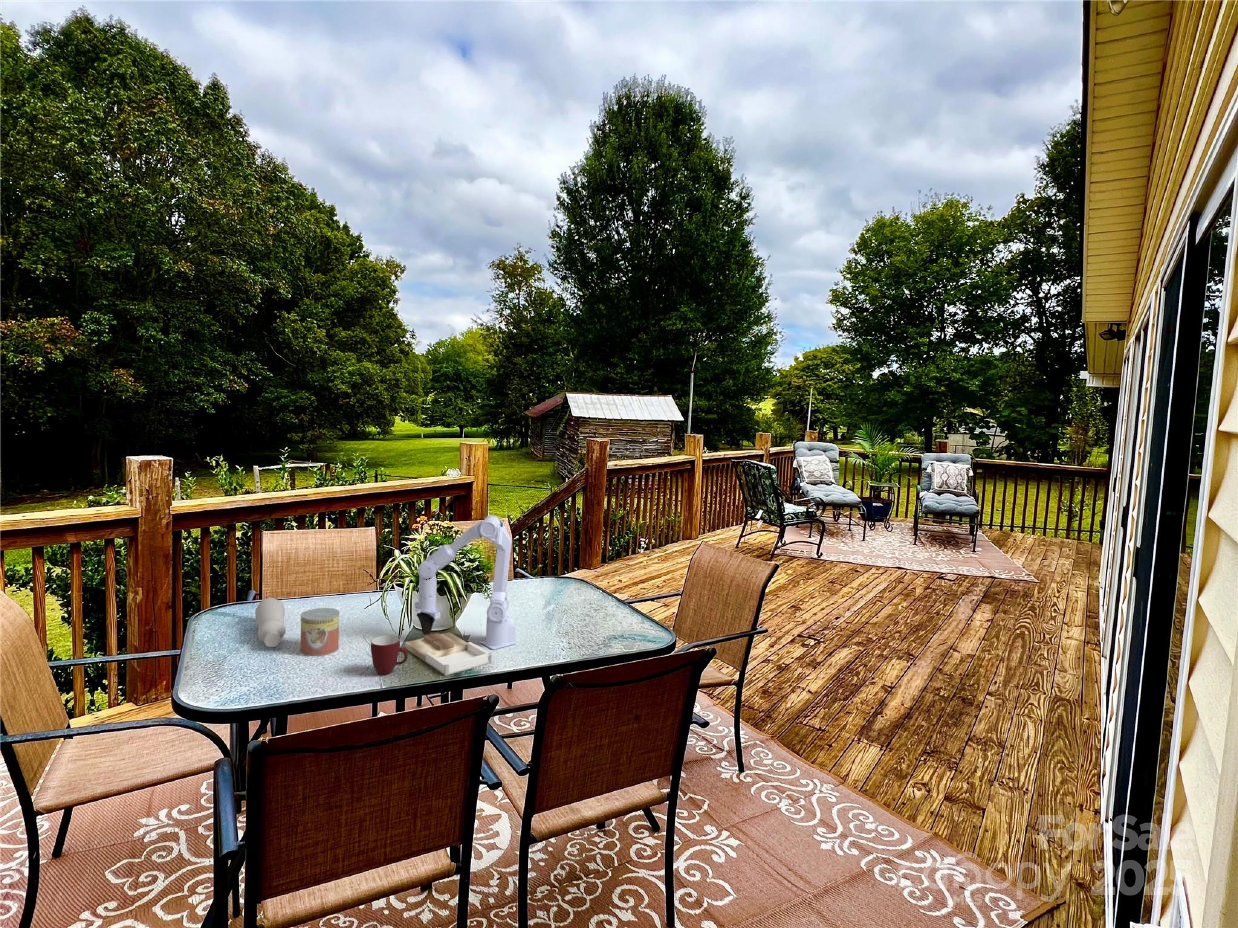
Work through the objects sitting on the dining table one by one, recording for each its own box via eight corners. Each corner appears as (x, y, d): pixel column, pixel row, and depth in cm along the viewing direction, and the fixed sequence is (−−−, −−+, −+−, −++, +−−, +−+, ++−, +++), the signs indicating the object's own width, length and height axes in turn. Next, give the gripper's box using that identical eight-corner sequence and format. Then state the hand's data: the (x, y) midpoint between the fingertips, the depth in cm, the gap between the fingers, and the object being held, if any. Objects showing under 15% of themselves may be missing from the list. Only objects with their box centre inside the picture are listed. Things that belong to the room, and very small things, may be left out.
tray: (470, 650, 209) (470, 641, 209) (491, 662, 200) (491, 653, 200) (425, 662, 198) (425, 652, 198) (445, 675, 189) (445, 666, 189)
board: (448, 637, 219) (449, 632, 219) (470, 650, 209) (470, 644, 209) (405, 648, 208) (405, 642, 208) (425, 661, 198) (425, 655, 198)
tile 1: (437, 637, 214) (437, 632, 214) (444, 641, 210) (444, 637, 210) (423, 640, 210) (423, 636, 210) (430, 645, 207) (431, 640, 207)
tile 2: (446, 642, 210) (446, 638, 209) (453, 647, 206) (454, 642, 206) (432, 645, 206) (432, 641, 206) (439, 650, 202) (440, 646, 202)
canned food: (296, 657, 196) (296, 620, 195) (304, 643, 207) (304, 608, 206) (335, 655, 199) (336, 618, 198) (341, 642, 210) (342, 607, 209)
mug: (408, 665, 195) (409, 634, 194) (406, 676, 187) (407, 644, 186) (371, 667, 192) (372, 635, 191) (368, 679, 184) (369, 645, 183)
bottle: (249, 613, 222) (249, 646, 197) (265, 591, 224) (268, 621, 198) (273, 624, 227) (276, 658, 201) (289, 603, 228) (294, 633, 203)
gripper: (406, 591, 215) (405, 629, 216) (426, 602, 205) (425, 642, 206) (425, 588, 220) (424, 625, 221) (446, 598, 210) (445, 638, 211)
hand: (426, 633), depth 214 cm, fingers closed
